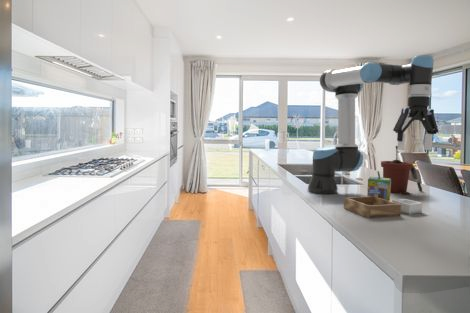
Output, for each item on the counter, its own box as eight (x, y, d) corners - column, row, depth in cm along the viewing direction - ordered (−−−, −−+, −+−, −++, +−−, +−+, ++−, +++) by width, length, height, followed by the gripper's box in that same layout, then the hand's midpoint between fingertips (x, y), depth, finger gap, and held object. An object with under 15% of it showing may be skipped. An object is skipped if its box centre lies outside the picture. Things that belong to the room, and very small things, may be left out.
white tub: (391, 209, 134) (392, 200, 134) (403, 207, 138) (404, 198, 137) (409, 214, 127) (409, 204, 127) (421, 212, 130) (422, 202, 130)
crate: (343, 208, 135) (344, 197, 134) (373, 206, 139) (374, 196, 139) (368, 217, 120) (368, 206, 120) (400, 215, 125) (401, 204, 124)
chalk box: (388, 207, 139) (391, 173, 137) (366, 204, 143) (368, 171, 142) (390, 202, 147) (392, 171, 145) (368, 200, 151) (370, 169, 150)
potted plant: (379, 186, 188) (382, 144, 186) (422, 191, 178) (425, 146, 176) (378, 192, 172) (381, 145, 170) (424, 196, 162) (428, 148, 160)
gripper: (401, 93, 119) (396, 150, 121) (451, 97, 126) (446, 150, 128) (386, 95, 126) (382, 148, 128) (435, 98, 133) (430, 149, 135)
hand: (414, 149), depth 128 cm, fingers open, 13 cm apart
